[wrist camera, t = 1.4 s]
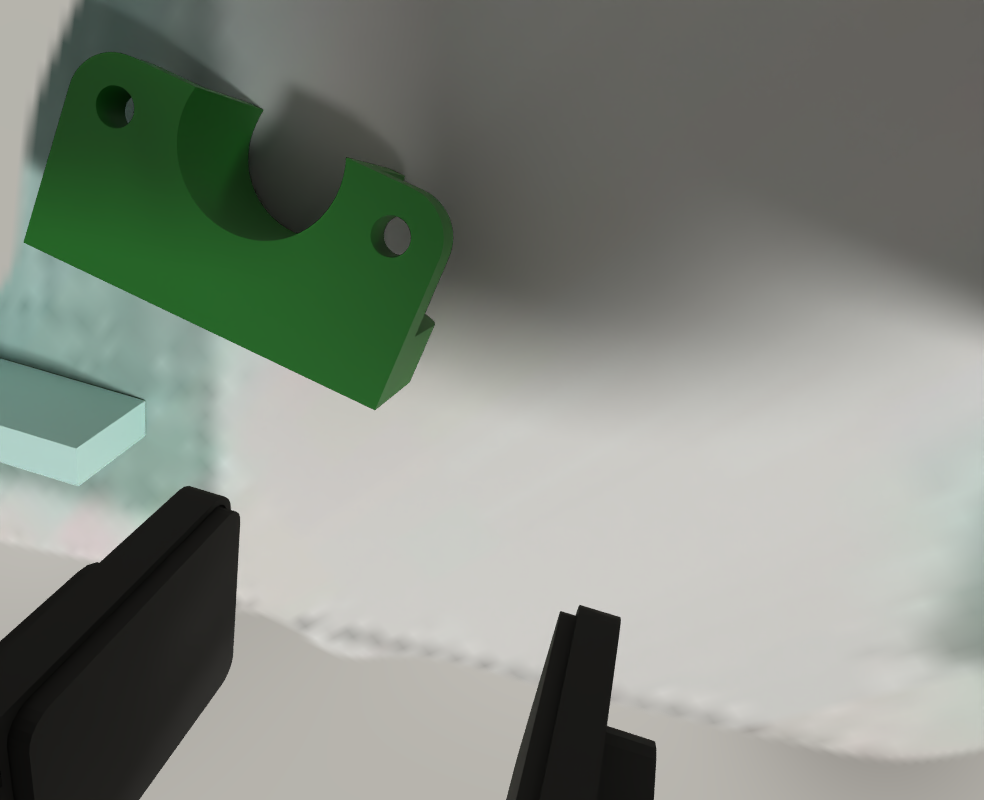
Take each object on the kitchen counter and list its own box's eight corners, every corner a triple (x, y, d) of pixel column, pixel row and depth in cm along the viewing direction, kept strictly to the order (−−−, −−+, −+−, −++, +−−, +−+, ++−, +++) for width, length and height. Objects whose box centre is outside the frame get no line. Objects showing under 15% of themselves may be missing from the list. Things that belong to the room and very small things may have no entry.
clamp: (453, 192, 30) (518, 236, 22) (392, 337, 32) (431, 428, 24) (115, 41, 26) (41, 26, 18) (62, 216, 28) (-29, 276, 19)
